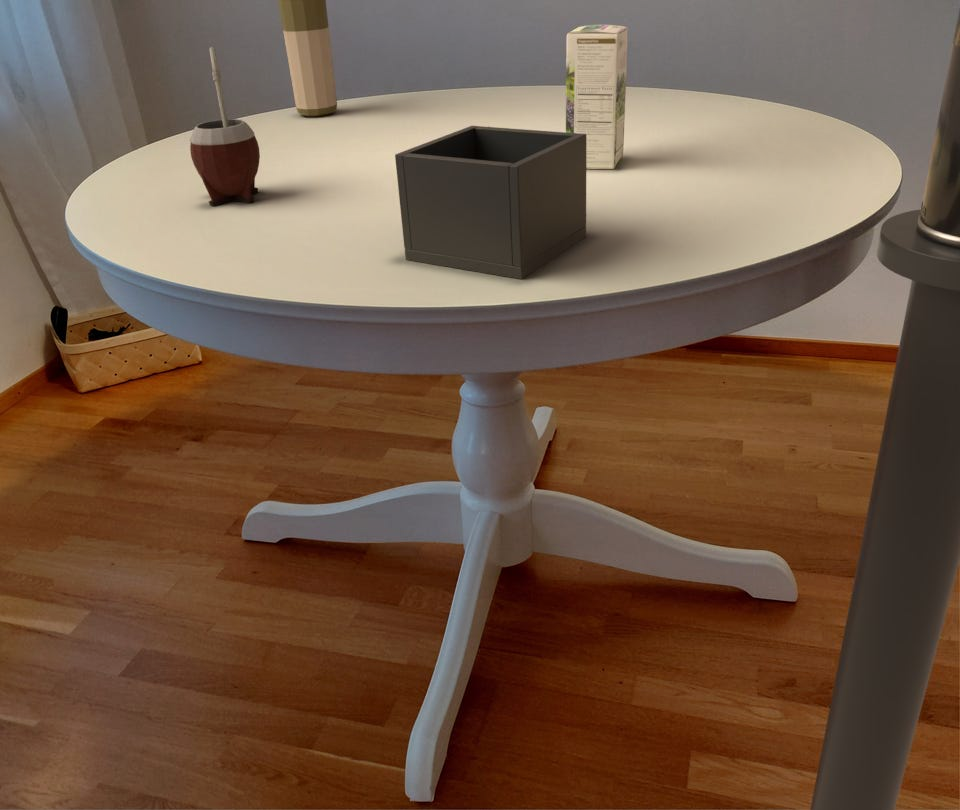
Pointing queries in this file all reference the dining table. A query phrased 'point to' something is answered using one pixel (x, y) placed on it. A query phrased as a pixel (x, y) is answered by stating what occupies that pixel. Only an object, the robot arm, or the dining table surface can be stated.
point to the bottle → (309, 55)
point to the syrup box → (597, 91)
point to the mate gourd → (225, 153)
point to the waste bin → (493, 199)
